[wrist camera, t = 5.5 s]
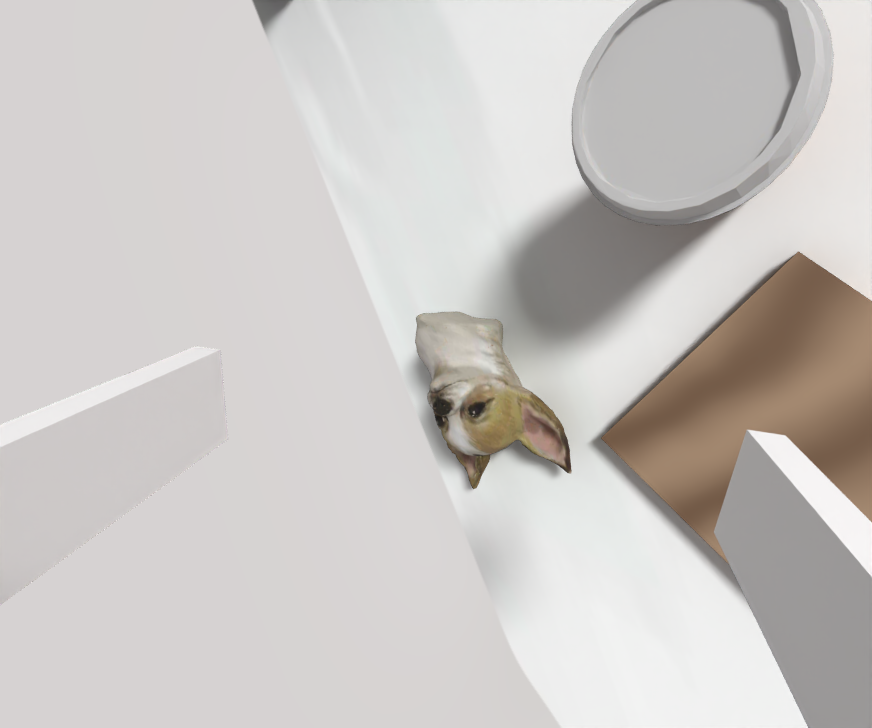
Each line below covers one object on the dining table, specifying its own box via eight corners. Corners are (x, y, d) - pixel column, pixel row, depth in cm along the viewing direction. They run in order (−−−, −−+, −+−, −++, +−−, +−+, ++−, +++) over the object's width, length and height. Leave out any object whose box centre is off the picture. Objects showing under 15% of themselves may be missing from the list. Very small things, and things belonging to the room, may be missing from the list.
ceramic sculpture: (458, 289, 30) (546, 508, 30) (521, 277, 37) (592, 456, 37) (357, 342, 37) (428, 521, 37) (425, 323, 44) (485, 475, 44)
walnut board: (607, 432, 35) (600, 438, 34) (798, 251, 27) (798, 251, 25) (804, 623, 29) (804, 638, 28) (1125, 472, 21) (1144, 485, 20)
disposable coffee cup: (781, 250, 27) (765, 245, 18) (617, 219, 32) (538, 203, 23) (861, 58, 24) (894, -70, 15) (665, 58, 29) (596, -38, 20)
